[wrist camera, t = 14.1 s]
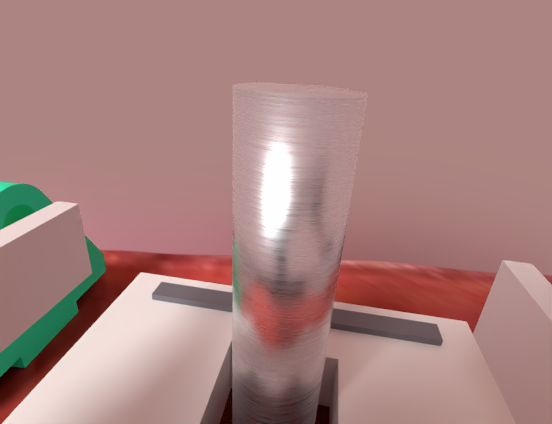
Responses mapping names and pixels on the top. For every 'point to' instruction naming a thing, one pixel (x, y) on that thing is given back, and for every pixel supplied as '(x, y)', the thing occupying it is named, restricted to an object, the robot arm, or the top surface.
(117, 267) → the top surface
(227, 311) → the hole plate
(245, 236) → the long pin
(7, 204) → the camera mount
